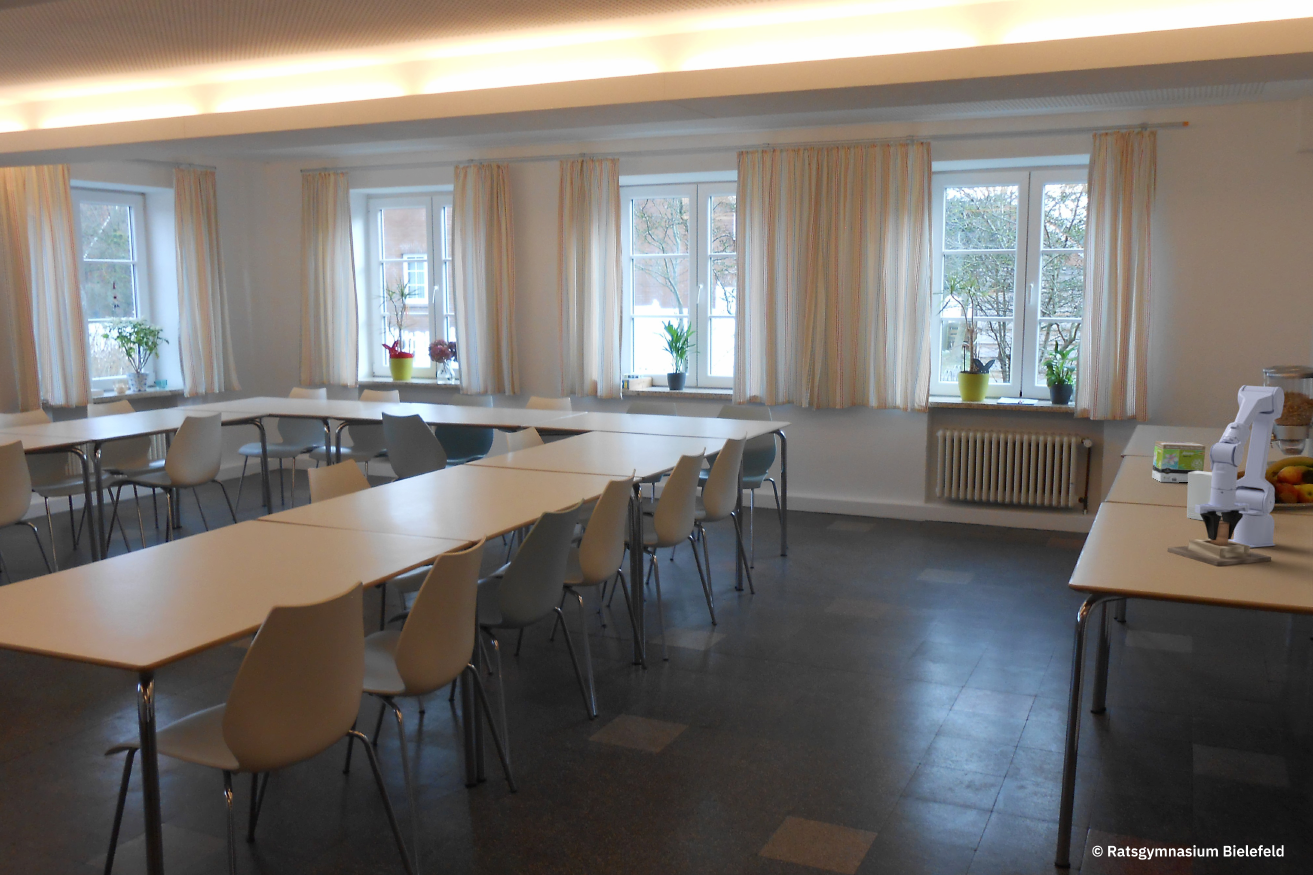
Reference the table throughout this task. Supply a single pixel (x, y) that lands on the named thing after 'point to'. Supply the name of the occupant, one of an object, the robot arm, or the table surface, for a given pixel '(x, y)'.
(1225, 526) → the peg
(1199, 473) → the skincare box
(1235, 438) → the robot arm
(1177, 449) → the tea box
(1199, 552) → the socket
